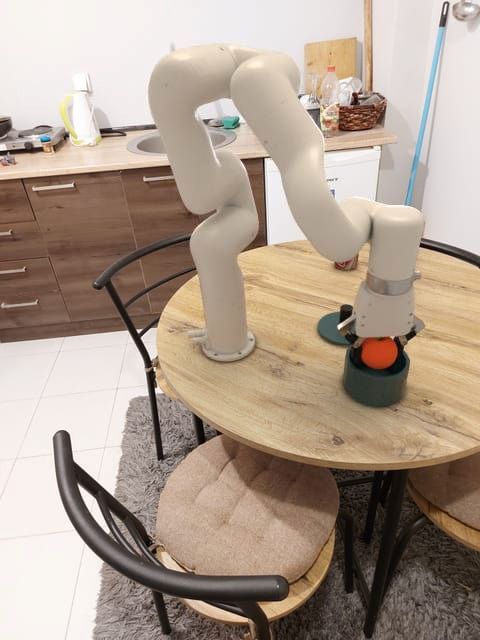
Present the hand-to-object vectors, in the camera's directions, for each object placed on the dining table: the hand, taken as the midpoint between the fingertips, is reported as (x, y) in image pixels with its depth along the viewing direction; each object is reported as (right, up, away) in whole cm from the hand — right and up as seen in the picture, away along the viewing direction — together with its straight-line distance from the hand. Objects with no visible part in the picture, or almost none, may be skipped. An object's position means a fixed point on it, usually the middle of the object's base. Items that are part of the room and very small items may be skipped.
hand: (375, 357), depth 83 cm
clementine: (0, -1, 0) cm, 1 cm away
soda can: (+5, +24, +46) cm, 52 cm away
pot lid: (-1, +5, +19) cm, 20 cm away
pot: (+1, -6, +4) cm, 7 cm away
